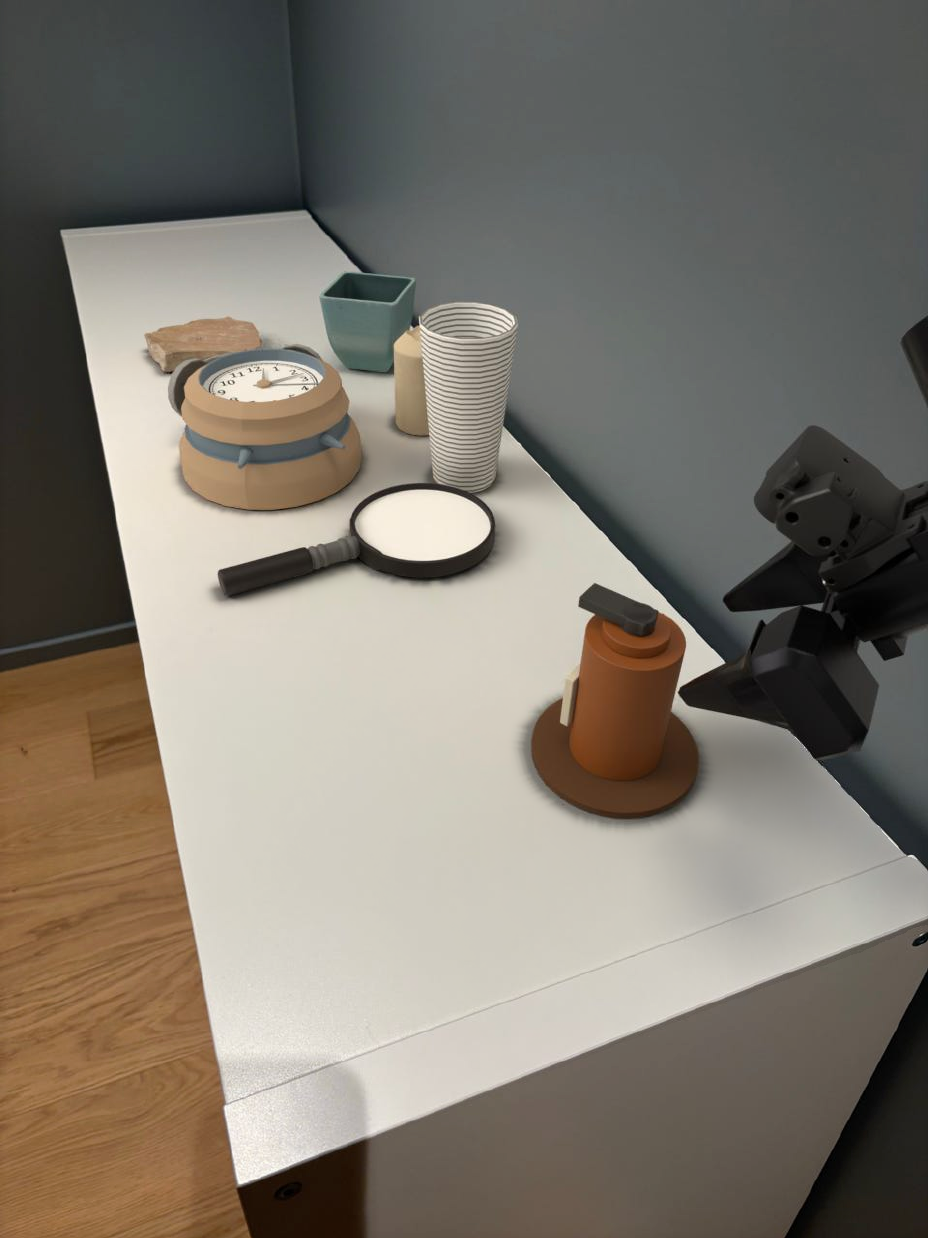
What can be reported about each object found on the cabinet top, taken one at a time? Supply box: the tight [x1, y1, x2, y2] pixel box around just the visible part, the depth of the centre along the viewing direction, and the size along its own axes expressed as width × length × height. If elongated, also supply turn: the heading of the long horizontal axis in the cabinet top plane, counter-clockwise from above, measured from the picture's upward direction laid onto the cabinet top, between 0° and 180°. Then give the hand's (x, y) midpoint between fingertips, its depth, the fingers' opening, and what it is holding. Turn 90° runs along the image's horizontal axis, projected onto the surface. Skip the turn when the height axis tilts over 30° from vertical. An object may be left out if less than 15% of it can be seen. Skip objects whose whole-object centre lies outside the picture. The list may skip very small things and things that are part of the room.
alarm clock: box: [167, 343, 362, 511], centre depth 89 cm, size 17×9×23 cm
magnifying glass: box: [217, 482, 496, 597], centre depth 77 cm, size 12×24×2 cm, turn 118°
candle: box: [393, 325, 429, 436], centre depth 93 cm, size 6×6×10 cm
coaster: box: [530, 697, 700, 819], centre depth 61 cm, size 11×11×1 cm
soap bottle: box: [560, 582, 687, 781], centre depth 57 cm, size 7×6×11 cm
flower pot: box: [318, 271, 417, 373], centre depth 105 cm, size 9×9×9 cm
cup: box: [418, 301, 519, 494], centre depth 83 cm, size 8×8×16 cm
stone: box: [143, 316, 263, 372], centre depth 107 cm, size 13×12×2 cm
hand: (706, 648), depth 53 cm, fingers open, 9 cm apart
